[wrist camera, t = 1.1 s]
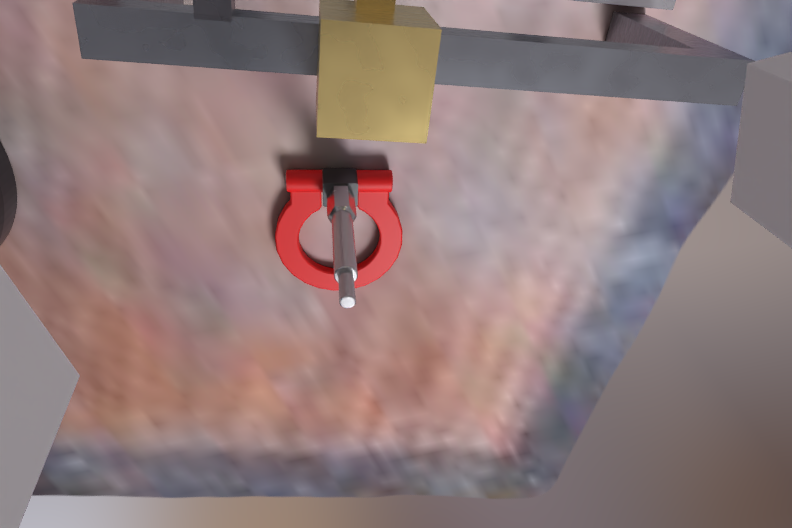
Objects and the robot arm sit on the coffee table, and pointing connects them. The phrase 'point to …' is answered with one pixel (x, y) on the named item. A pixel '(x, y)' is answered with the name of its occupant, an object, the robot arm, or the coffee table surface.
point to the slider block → (375, 70)
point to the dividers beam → (457, 60)
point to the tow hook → (339, 226)
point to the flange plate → (639, 3)
